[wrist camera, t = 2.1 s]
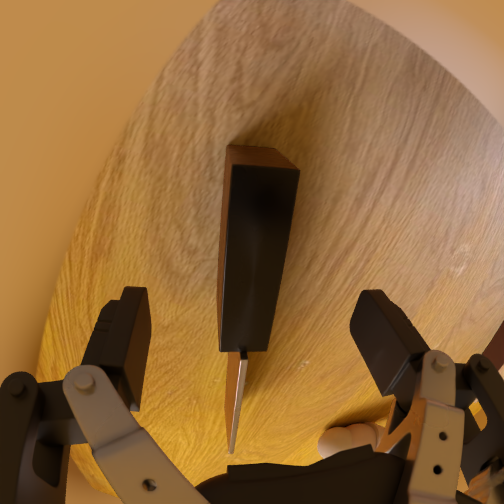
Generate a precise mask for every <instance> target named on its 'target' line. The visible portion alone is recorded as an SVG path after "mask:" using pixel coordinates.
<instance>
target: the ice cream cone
mask: <svg viewBox="0 0 504 504" xmlns="http://www.w3.org/2000/svg"><path fill="white" fill-rule="evenodd" d="M384 430H385V428H384V427H382V426H380V425H377V424H375V423H373V422H365V423H364V424H359V423H358V424H352V425H349V426H347V427H345V428H342V427H335V428H331V429H329V430H327V431H325V432H324V433H323V434H322V435H321V437H320V438H319V441H318V445H317V447H318V452H319V454H320V455H321V456H322V457H323V458H324V459H325V458H327V457H329V456H331V455H333V454H335V453H337V452H339V451H343V450H347V449H351V448H355V447H359V446H363V445H367V444H371V445H372V448H373V451H375V450H376V448H377V447H378V446H379V444H380V442H381V440H382V437H383V434H384Z"/></svg>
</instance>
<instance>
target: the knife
mask: <svg viewBox="0 0 504 504" xmlns="http://www.w3.org/2000/svg"><path fill="white" fill-rule="evenodd" d="M299 176H300V170H299V169H298V168H297V167H296V166H295V165H293V164H292V163H291V162H290V161H289V160H288V159H287V158H285V157H284V156H283V155H282V154H281V153H280V152H278V151H277V150H276V149H274V148H264V147H253V146H240V145H227V146H226V157H225V170H224V182H223V196H222V210H221V225H220V241H219V258H218V277H217V318H218V339H219V351H220V352H228V365H227V379H226V392H225V406H224V408H225V420H226V431H227V442H228V452H229V454H233V453H234V447H235V441H236V435H237V429H238V423H239V416H240V410H241V404H242V398H243V391H244V385H245V378H246V372H247V366H248V354H247V352H263V351H267V349H268V344H269V339H270V334H271V330H272V325H273V320H274V315H275V310H276V305H277V300H278V295H279V289H280V284H281V279H282V274H283V268H284V263H285V257H286V252H287V246H288V241H289V235H290V230H291V224H292V218H293V212H294V206H295V200H296V194H297V188H298V182H299Z"/></svg>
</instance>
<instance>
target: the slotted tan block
mask: <svg viewBox="0 0 504 504" xmlns="http://www.w3.org/2000/svg"><path fill="white" fill-rule="evenodd" d="M482 355H484V356H485V357H487V358H488V359H489V360H490V361H491V362H492V363H493V365H494V366H495V368H496V369H497V370H498V372H499V374H500V375H501V377H502V378H503V380H504V321H503V323H502V325H501V326H500V328H499V330H498V331H497V333H496V334H495V336H494V337H493V339H492V341H491V342H490V344H489V345H488V346H487V348H486V349H485V351H484V352H483V354H482ZM476 402H478V399H477V398H476V399H475V400H474V403H476Z"/></svg>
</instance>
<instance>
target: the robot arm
mask: <svg viewBox="0 0 504 504" xmlns="http://www.w3.org/2000/svg"><path fill="white" fill-rule="evenodd" d="M407 318H408V317H407V316H406V315H405V313H404V312H403V311H402V309H401V308H400V307H398V306H397V305H396V304H394V303H393V302H392V301H390V300H389V298H388V297H387V296H386V294H385V293H384V292H383V291H382V290H380V289H376V290H363V291H362V292H361V293H360V296H359V298H358V301H357V304H356V307H355V309H354V312H353V315H352V317H351V320H350V333H351V335H352V337H353V339H354V341H355V343H356V345H357V347H358V349H359V351H360V353H361V355H362V357H363V359H364V361H365V363H366V365H367V367H368V369H369V371H370V373H371V375H372V377H373V379H374V381H375V383H376V385H377V387H378V389H379V391H380V393H381V395H382V397H384V396H388V395H392V394H394V396H395V399H394V400H393V402H392V405H391V408H390V412H389V416H388V420H387V423H386V427H385V430H384V434H383V437H382V440H381V442H380V444H379V446H378V447H377V448H376V450H375V451H373V448H372V445H371V444H367V445H363V446H359V447H355V448H351V449H347V450H343V451H339V452H337V453H335V454H333V455H331V456H329V457H327V458H325V459H323V460H320V461H318V462H316V463H314V464H311V465H309V466H294V465H282V464H273V463H258V464H244V465H227V473H225V474H221V475H217V476H215V477H212V478H210V479H208V480H206V481H204V482H202V483H200V484H199V485H197V486H196V487H194V486H193V485H192V484H191V483H190V482H189V481H188V480H187V479H186V478H185V477H184V476H183V474H182V473H181V472H180V471H179V470H178V469H177V468H176V466H175V465H174V464H173V463H172V462H171V461H170V459H169V458H168V457H167V456H166V455H165V453H164V452H163V451H162V450H161V448H160V447H159V446H158V445H157V443H156V442H155V441H154V440H153V438H152V437H151V436H150V434H149V433H148V432H147V431H146V430H145V429H144V428H143V427H141V426H140V425H139V424H138V423H137V421H136V420H135V418H134V417H133V415H132V414H131V412H130V411H137V412H139V411H140V403H141V395H142V388H143V381H144V375H145V368H146V362H147V356H148V350H149V345H150V339H151V316H150V309H149V301H148V293H147V288H146V287H131V286H126V287H125V288H124V290H123V293H122V295H121V298H120V300H110V301H109V302H108V303H107V304H106V305H105V306H104V307H103V308H102V309H101V312H100V314H99V317H98V319H97V320H98V321H97V322H96V324H95V327H94V331H93V332H92V335H91V337H90V340H89V343H88V345H87V348H86V351H85V354H84V357H83V359H82V362H81V365H80V366H77V367H75V368H73V369H72V370H70V371H69V372H68V373H67V374H66V376H65V378H64V379H63V380H59V381H52V382H43V383H37V381H36V379H35V378H34V377H33V376H32V375H31V374H29V373H27V372H15V373H12V374H11V375H9V376H8V377H7V378H6V379H5V380H4V381H3V383H2V385H1V387H0V504H65V496H66V495H65V494H66V483H67V482H66V481H67V472H68V462H69V454H70V447H71V445H73V444H83V443H89V445H90V447H91V449H92V455H93V457H94V459H95V461H96V463H97V464H98V466H99V468H100V469H101V471H102V472H103V474H104V476H105V477H106V479H107V480H108V482H109V483H110V485H111V486H112V488H113V489H114V491H115V492H116V494H117V495H118V496H119V498H120V499H121V501H122V502H123V503H124V504H504V380H503V378H502V377H501V375H500V374H499V372H498V370H497V369H496V368H495V366H494V365H493V363H492V362H491V361H490V360H489V359H488V358H487V357H485V356H484V355H481V354H474V355H472V356H471V357H470V359H469V360H468V362H467V363H466V364H461V363H454V362H453V360H452V359H451V358H450V357H449V356H448V355H447V354H446V353H444V352H442V351H439V350H431V349H430V348H429V347H428V345H427V344H426V342H425V341H424V339H423V338H422V337H421V335H420V334H419V332H418V331H417V330H416V328H415V327H414V326H413V324H412V323H411V321H410V320H409V319H407ZM476 398H477V399H478V401H479V403H480V405H481V407H482V408H483V410H484V412H485V414H486V416H487V425H486V427H485V428H484V429H483V430H482V431H480V429H479V427H478V425H477V423H476V421H475V419H474V417H473V415H472V413H471V411H470V409H469V406H470V405H471V404H472V403H473V402H474V400H475V399H476ZM460 467H461V470H462V472H463V474H464V477H465V480H466V482H467V485H468V488H469V489H468V490H467V491H465V492H464V493H462V492H460V491H458V490H456V489H457V483H458V477H459V471H460Z"/></svg>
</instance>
